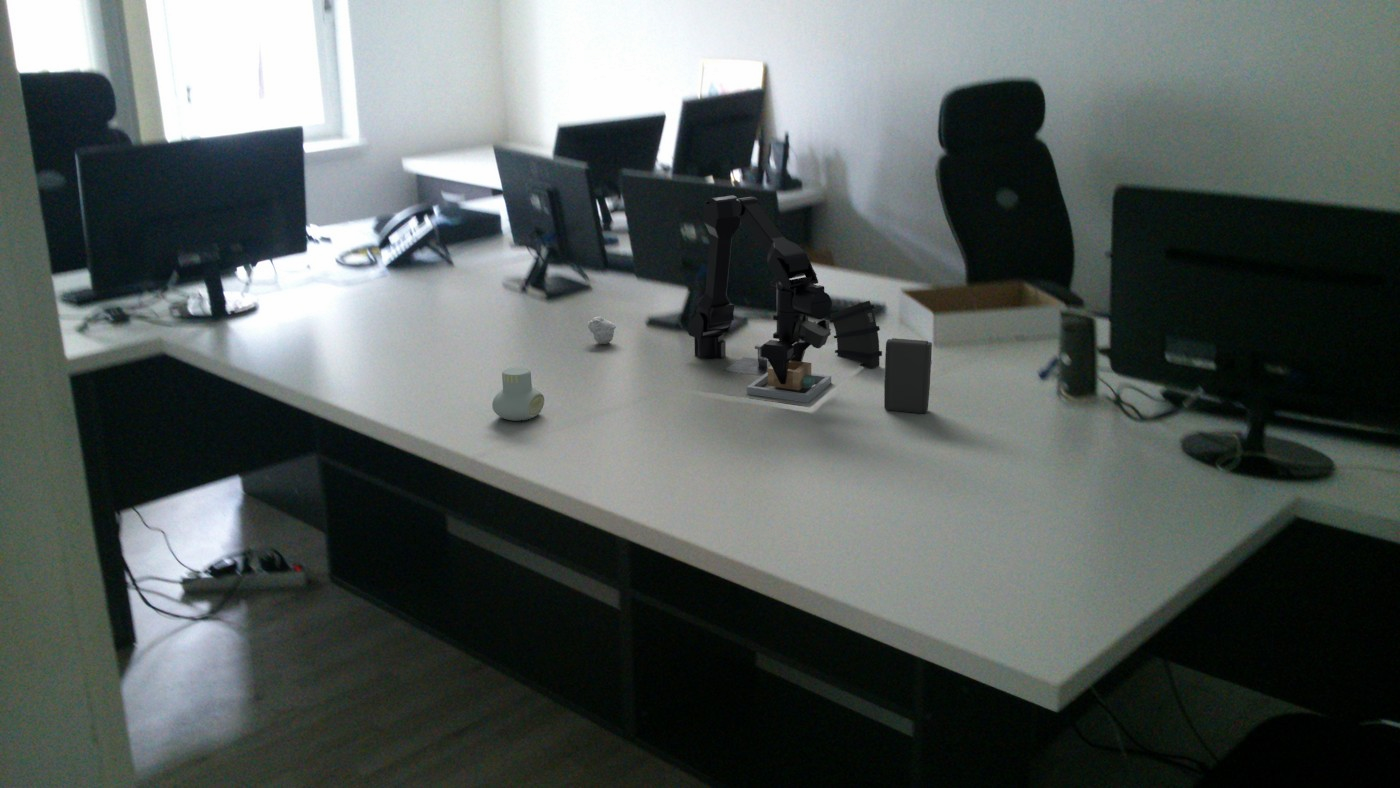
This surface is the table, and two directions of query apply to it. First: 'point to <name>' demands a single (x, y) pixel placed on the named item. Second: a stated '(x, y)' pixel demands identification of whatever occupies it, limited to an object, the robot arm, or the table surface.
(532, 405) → the air freshener
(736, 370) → the stake stand
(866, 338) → the magazine
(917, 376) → the card reader
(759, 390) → the tray
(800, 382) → the light brown open box
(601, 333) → the grey lumpy chunk
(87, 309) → the table surface
